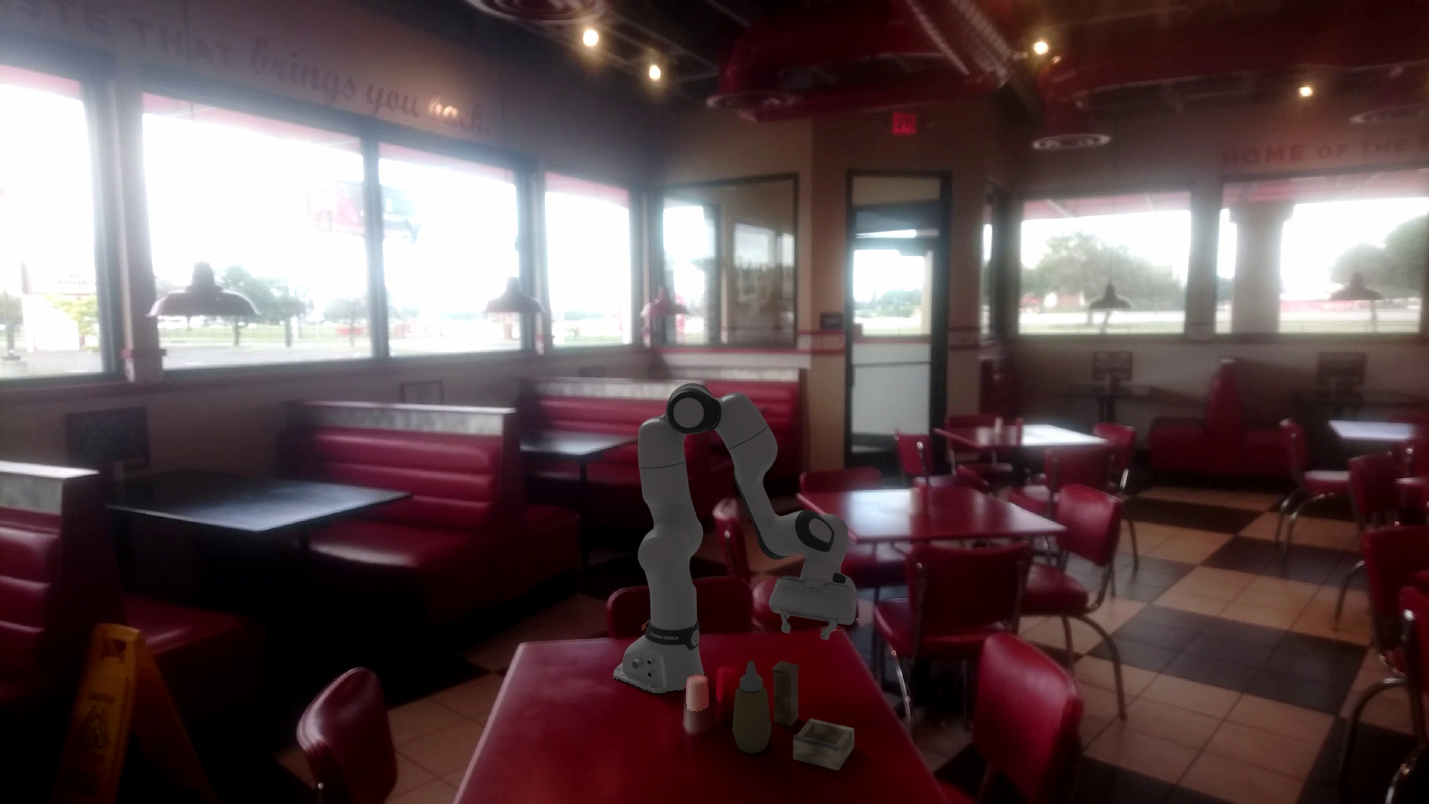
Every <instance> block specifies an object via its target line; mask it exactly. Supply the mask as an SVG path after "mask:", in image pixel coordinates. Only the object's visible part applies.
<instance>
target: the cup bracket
mask: <svg viewBox="0 0 1429 804" xmlns="http://www.w3.org/2000/svg"><path fill="white" fill-rule="evenodd" d="M854 748H855V728H854V727H849V726H845V725H840V724H837V723H832V722H828V721H825V720H824V721H823V720H820V719H816V718H815V719H814V718H809V719H808V721H807V722H806V723H805V725H804V726H803V727H802V728H801V730H800V731H799V732H798V733H797V734H793V735H792V754H793V755H792V759H793V760H796V761H799V762H804V763H806V764H807V763H808V764H811V765H816V766H820V767H822V768H826V769H830V770H835V771H839V770H840V769H841V768H842V766H843V764H844V763H845V762H846V760H847V759H848V757H849V756H850V754H851V753H852V751H853V750H854Z"/></svg>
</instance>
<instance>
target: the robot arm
mask: <svg viewBox="0 0 1429 804" xmlns="http://www.w3.org/2000/svg"><path fill="white" fill-rule="evenodd" d="M710 431H715V432H716V433H717V434H718V435H719V437H720V438H721V440H722V442H723V443H724V445H725V447H726V449H727V451H728V452H729V455H730V456H731V460H732V463H733V467H734V469H733V477H734V481H735V484H736V487H737V490H738V492H739V494H740V497H741V499H742V501H743V503H744V506H745V510H746V512H747V513H748V516H749V518H750V520H751V523H752V526H753V528H754V532H755V537H756V540H757V545H758V547H759V548H760V550H761V552H762V553H763V554H764V555H765V556H766V557H768V558H769V559H771V560H774V561H779V560H783V559H786V558H789V557H791V556H794V555H800V554H802V555H803V556H804V557H805V558H804V559H805V560H804V562H803V566H802V569H801V572H800V573H801V574H800V576H791V575H786V574H785V575H783V576H780V577H778V578H776V581H775V584H774V588H773V590H772V593H771V595H770V598H769V601H768V605H769V607H770V610H771V611H772V612H773V613H775V614H779V615H780V618H781V621H782V624H781V629H780V630H781V631H782V633H786V634H789V633H790V632H791V631H790V630H791V629H792V625H790V623H788V621H787V620H788V619H790V616H792V617H793V616H794V617H798V618H803V619H805V618H806V619H811V620H815V621H816V620H817V621H823V622H828V623H829V624H828V626H827V627H826V628H821V632H820V639H822V640H826V641H828V640H829V639H830V635H831V633H832V632H833V631H834V630H835V629H837V626H838V624H841V625H847V626H851V625H852V624H853V623H854V622H855V619H856V613H857V599H856V595H857V588H856V585H855V583H854V581H853V579H852V578H851V577H850V576H849V575H848V576H847V575H845V574H843V573H841V565H842V563H843V561H844V560H845V557H846V553H847V549H848V543H849V527H848V525H847V523H846V521H845V520H844V519H843V518H841V517H839V516H838V515H835V514H832V513H825V514H819V513H817V512H815V511H814V510H812V509H803V510H797V511H794V512H791V513H789V514H786V515H782V516H781V515H778V514H777V513H775V511H774V509H773V506H772V503H771V502H770V498H769V497H768V494H767V492H766V490H765V487H764V477H765V475H766V473H767V472H768V471H769V470H770V469H771V467H772V466H773V464H775V463H774V462H775V461H776V458H777V455H778V450H779V449H778V447H779V446H778V443H777V440H776V438H775V435H774V433H773V431H772V429H771V428H770V426H769V425H768V423H767V421H766V419H765V418H764V417H763V415H762V413H761V412H760V411H759V409H758V407H757V406H756V405H755V404H754V403H753V402H752V400H751V399H750V398H749V397H748V396H747V395H746V394H745V393H743V392H730V393H726V394H725V395H723V396H721V397H714V396H713V395H712V393H711V392H710V391H709V389H708V388H706V387H705V386H704V385H702V384H699V383H695V382H690V383H685V384H682V385H680V386H679V387H677V388H676V389H675V390H673V392H672V393H671V394H670V396H669V398H668V401H667V402H666V407H665V412H664V413H663V414H662V415H659V416H654V417H651V418H648V419H646V420H644V421H643V422H642V423H641V425H640V426H639V428H638V435H637V459H638V468H639V476H640V484H641V492H642V498H643V501H644V502H645V504H647V506H648V509H649V510H650V514H651V516H652V520H653V528H652V529H651V530H650V531H649V532H647V533H646V535H645V536H644V537H643V539H642V541H641V543H640V545H639V547H638V551H637V559H638V562H639V564H640V567H641V568H642V569H643V571H644V573H645V576H646V580H647V584H648V589H649V596H650V597H649V600H650V619H648V620H646V622H645V623H644V624H642V625H641V627H642V629H641V631H644V630H645V633H644V634H643V635H642V636H641V637H639V638H638V639H636V640H635V641H634V642H632V643H631V644H630V645H629V646H628V647H627V648H626V650H625V651H624V654H623V658H622V662H621V663H619V665H617V667H615V668H614V671H613V676H612V677H613V679H615V678H616V679H615V680H618V679H620V680H622V681H621V682H623V681H624V682H623V683H625V682H628V683H630V684H629V685H631V684H633V685H635V686H634V687H636V686H637V687H636V688H638V687H640V688H639V689H641V688H642V689H641V690H644V691H646V690H648V691H647V692H649V691H650V693H651V692H652V694H654V693H660V694H664V693H667V691H668V692H673V691H675V690H677V691H683V690H685V689H684V687H685V684H686V681H687V678H688V677H689V676H693V675H696V674H702V675H704V674H705V671H704V669H703V664H702V660H701V654H700V649H699V647H700V646H699V643H700V626H699V624H700V623H699V619H698V614H697V613H698V611H697V609H698V608H697V606H698V605H697V588H696V586H695V585H694V584H693V580H692V576H691V575H692V574H691V571H690V561H691V558H692V556H693V555H694V554H696V552H697V551H698V549H699V548H700V546H701V544H702V541H703V536H704V530H703V526H702V523H701V522H700V520H699V519H698V516H697V513H696V510H695V507H694V504H693V501H692V498H691V497H692V496H691V492H690V486H689V478H688V471H687V461H686V455H685V445H684V444H685V439H686V436H688V435H697V434H701V433H705V432H710ZM620 680H619V681H620ZM628 683H627V684H628ZM633 685H632V686H633Z"/></svg>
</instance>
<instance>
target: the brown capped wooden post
mask: <svg viewBox="0 0 1429 804" xmlns="http://www.w3.org/2000/svg"><path fill="white" fill-rule="evenodd" d="M799 669H800V664H799V663H798V664H797V663H793V662H788V661H787V662H786V661H783V660H779V662H778V663H777V664H775V666H773V667H772V668H771V673H773V677H772V678H773V681H772V682H773V722H774V723H777V724H782V725H785V726H789V727H792V726H793V724H794V723H795V722H796V721H797V719H799Z"/></svg>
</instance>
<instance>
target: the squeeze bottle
mask: <svg viewBox="0 0 1429 804" xmlns="http://www.w3.org/2000/svg"><path fill="white" fill-rule="evenodd" d="M755 664H756V663H755V661H754V660H748V661H747V666H746V669H745V673H744V675H742V676H741V677H740V678H739V686H738V687H737V688H736V690H735V694H734V707H733V717H732V726H731V727H732V728H731V729H732V734H733V737H734V740H735V742H736V744H737V747H738V749H739V750H741V751H742V752H744V753H749V754H757V753H761V752H763V751H764V750H766V748H767V746H768V743H769V740H770V738H771V735H772V721H771V714H770V713H771V712H770V705H769V696H768V694H769V693H768V690H767V688H766V687H765V686H764V684H763V683H764V682H763V681H764V680H763V677H761V676H760V675H758V674H757V669H756V665H755Z"/></svg>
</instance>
